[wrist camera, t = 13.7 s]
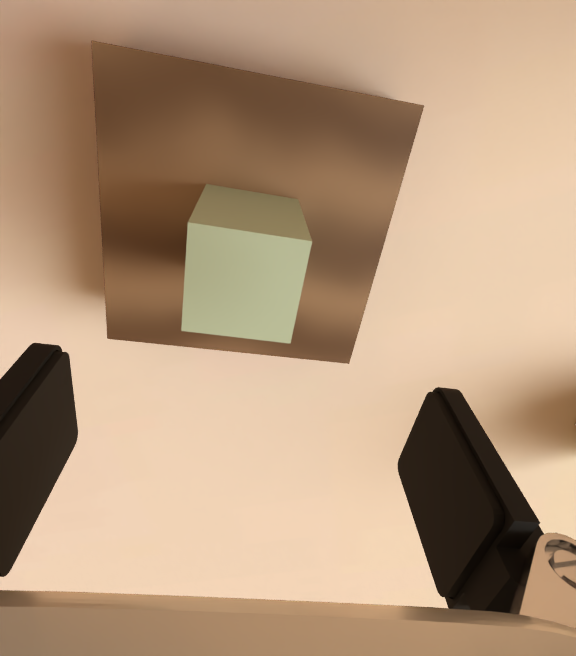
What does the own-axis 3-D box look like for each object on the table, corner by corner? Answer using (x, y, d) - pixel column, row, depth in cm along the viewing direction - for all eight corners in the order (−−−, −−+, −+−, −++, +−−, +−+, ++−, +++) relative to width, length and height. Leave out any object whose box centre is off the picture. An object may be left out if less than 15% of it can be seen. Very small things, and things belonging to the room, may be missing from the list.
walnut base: (121, 47, 23) (91, 40, 19) (396, 101, 26) (424, 105, 21) (127, 302, 31) (107, 338, 27) (337, 326, 33) (349, 363, 29)
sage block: (206, 183, 23) (187, 222, 17) (297, 199, 23) (312, 241, 17) (199, 270, 25) (181, 330, 19) (282, 281, 26) (290, 343, 20)
